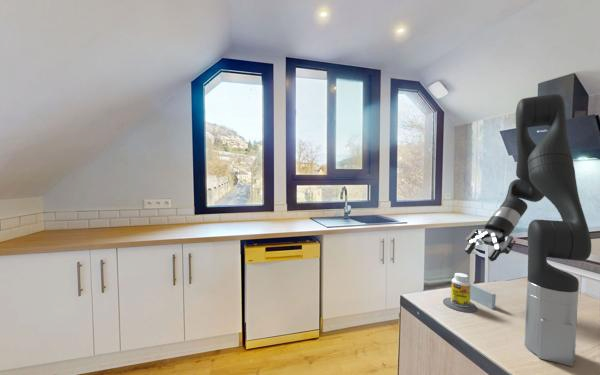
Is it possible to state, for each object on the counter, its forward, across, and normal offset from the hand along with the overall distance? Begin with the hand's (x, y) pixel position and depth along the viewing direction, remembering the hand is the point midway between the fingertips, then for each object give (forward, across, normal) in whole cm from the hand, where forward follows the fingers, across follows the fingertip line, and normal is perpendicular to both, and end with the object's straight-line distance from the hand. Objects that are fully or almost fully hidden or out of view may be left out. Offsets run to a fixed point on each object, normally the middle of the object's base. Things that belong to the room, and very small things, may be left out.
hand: (478, 256), depth 92 cm
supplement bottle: (+17, 0, +6) cm, 18 cm away
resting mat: (+17, 0, +6) cm, 18 cm away
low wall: (+11, 0, +12) cm, 16 cm away
